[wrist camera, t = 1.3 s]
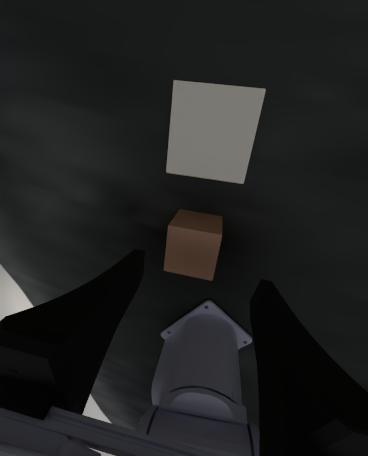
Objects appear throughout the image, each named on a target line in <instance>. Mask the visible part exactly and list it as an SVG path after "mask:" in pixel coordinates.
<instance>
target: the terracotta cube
mask: <svg viewBox="0 0 368 456" xmlns="http://www.w3.org/2000/svg"><path fill="white" fill-rule="evenodd" d="M221 239H222V216H217V215H211V214H205V213H199V212H194V211H188V210H182V209H179V211H178V212H177V214H176V215H175V216H174V218H173V219H172V221H171V222H170V223H169V225H168V232H167V242H166V252H165V261H164V271H168V272H173V273H177V274H182V275H187V276H191V277H196V278H201V279H206V280H210V281H213V276H214V271H215V267H216V262H217V258H218V253H219V248H220V244H221Z"/></svg>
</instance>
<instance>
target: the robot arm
mask: <svg viewBox="0 0 368 456" xmlns="http://www.w3.org/2000/svg"><path fill="white" fill-rule="evenodd" d="M144 255H145V251H141V250H137V249H135V250H133V251H132V252H131V253H129V254H128V255H127V256H126V257H124V258H123V259H122V260H120V261H119V262H118V263H116V264H115V265H114V266H112V267H111V268H110V269H108V270H107V271H105V272H104V273H102V274H101V275H99V276H98V277H96V278H94V279H93V280H91V281H89V282H88V283H86V284H84V285H82V286H81V287H79V288H77V289H75V290H73V291H71V292H69V293H67V294H64V295H62V296H60V297H58V298H56V299H53V300H51V301H48V302H46V303H43V304H41V305H38V306H35V307H33V308H30V309H27V310H24V311H21V312H18V313H15V314H12V315H9V316H6V317H5V318H4V319H2V320H1V321H0V456H101V454H100V453H98V452H96V451H93V450H92V449H90V448H93V449H96V450H99V451H102V452H105V453H109V454H112V455H115V456H368V392H366V391H365V390H364V389H363V388H362V387H361V386H360V385H359V384H358V383H357V382H355V381H354V380H353V379H352V378H351V377H350V376H349V375H348V374H347V373H346V372H345V371H344V370H343V369H342V368H341V367H340V366H339V365H338V364H337V363H336V362H335V361H334V360H333V359H332V358H331V357H330V356H329V355H328V354H327V353H326V352H325V351H324V350H323V348H322V347H321V346H320V345H319V344H318V343H317V342H316V341H315V339H314V338H313V337H312V336H311V335H310V334H309V332H308V331H307V330H306V329H305V327H304V326H303V325H302V324H301V322H300V321H299V320H298V318H297V317H296V316H295V314H294V313H293V312H292V310H291V309H290V307H289V306H288V305H287V303H286V302H285V300H284V299H283V297H282V296H281V295H280V293H279V292H278V290H277V289H276V287H275V286H274V284H273V283H272V282H271V281H267V280H263V279H261V281H260V283H259V284H258V286H257V288H256V290H255V292H254V294H253V296H252V298H251V300H250V320H251V327H252V334H253V340H254V346H255V353H256V360H257V371H258V389H259V429H260V431H259V430H258V428H257V426H256V425H255V424H254V423H250V422H248V424H247V414H246V407H245V406H242V395H241V382H240V369H239V356H238V349H240V348H242V347H244V346H246V345H248V344H250V343H251V342H252V337H251V336H250V335H249V334H248V333H247V332H245V331H244V330H243V329H242V328H241V327H240V326H239V325H238V324H237V323H236V322H234V321H233V320H232V319H231V318H230V317H229V316H228V315H227V314H226V313H225V312H223V311H222V310H221V309H220V308H219V307H218V306H217V305H216V304H215V303H214V302H213V301H211V300H207V301H205V302H204V303H202V304H201V305H199V306H198V307H196V308H195V309H194V310H192V311H191V312H189V313H188V314H186V315H185V316H184V317H182V318H181V319H179V320H178V321H176V322H175V323H173V324H172V325H171V326H169V327H168V328H166V329H165V330H163V331H162V332H161V336H162V338H164V339H165V342H164V345H163V349H162V352H161V355H160V358H159V362H158V365H157V368H156V372H155V375H154V378H153V382H152V403H153V405H151V406H150V407H149V408H148V410H147V411H146V412H145V413H144V414H143V416H142V417H141V419H140V421H139V423H138V426H137V428H136V431H135V430H131V429H128V428H124V427H121V426H118V425H114V424H111V423H107V422H104V421H101V420H97V419H94V418H91V417H87V416H84V415H82V414H83V411H84V408H85V406H86V403H87V400H88V398H89V395H90V393H91V390H92V387H93V385H94V382H95V379H96V377H97V374H98V372H99V369H100V367H101V364H102V362H103V359H104V357H105V355H106V352H107V350H108V347H109V345H110V343H111V340H112V338H113V336H114V333H115V331H116V329H117V327H118V325H119V323H120V321H121V319H122V317H123V315H124V313H125V311H126V310H127V308H128V306H129V304H130V302H131V300H132V299H133V297H134V295H135V293H136V291H137V289H138V287H139V284H140V282H141V279H142V277H143V268H144ZM206 306H207V307H206ZM88 447H89V448H88Z"/></svg>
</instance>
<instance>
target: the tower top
mask: <svg viewBox="0 0 368 456" xmlns="http://www.w3.org/2000/svg"><path fill="white" fill-rule="evenodd" d="M265 91H266V89H261V88H250V87H240V86H229V85H219V84H208V83H198V82H187V81H177V80H174V84H173V96H172V108H171V120H170V132H169V144H168V156H167V168H166V172H169V173H176V174H182V175H189V176H196V177H202V178H209V179H216V180H222V181H229V182H235V183H242V184H244V180H245V176H246V172H247V167H248V163H249V159H250V155H251V150H252V146H253V142H254V138H255V133H256V129H257V125H258V121H259V116H260V112H261V108H262V104H263V99H264V95H265Z"/></svg>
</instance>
